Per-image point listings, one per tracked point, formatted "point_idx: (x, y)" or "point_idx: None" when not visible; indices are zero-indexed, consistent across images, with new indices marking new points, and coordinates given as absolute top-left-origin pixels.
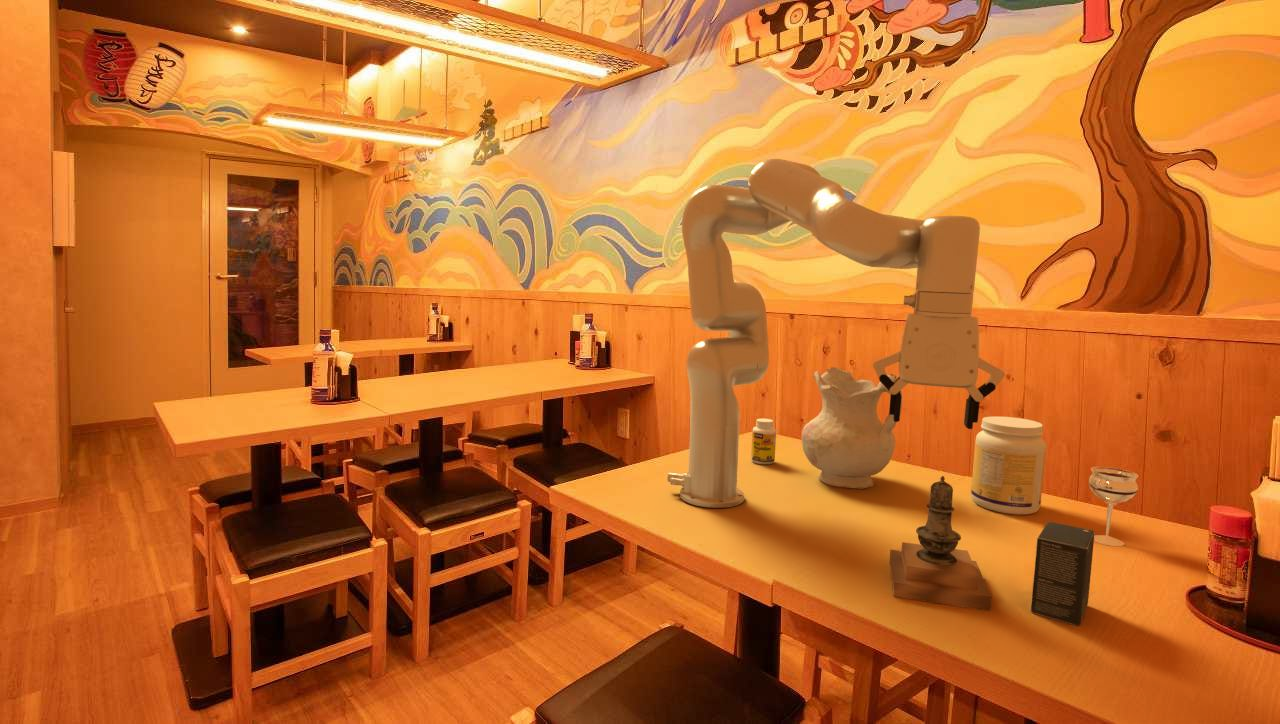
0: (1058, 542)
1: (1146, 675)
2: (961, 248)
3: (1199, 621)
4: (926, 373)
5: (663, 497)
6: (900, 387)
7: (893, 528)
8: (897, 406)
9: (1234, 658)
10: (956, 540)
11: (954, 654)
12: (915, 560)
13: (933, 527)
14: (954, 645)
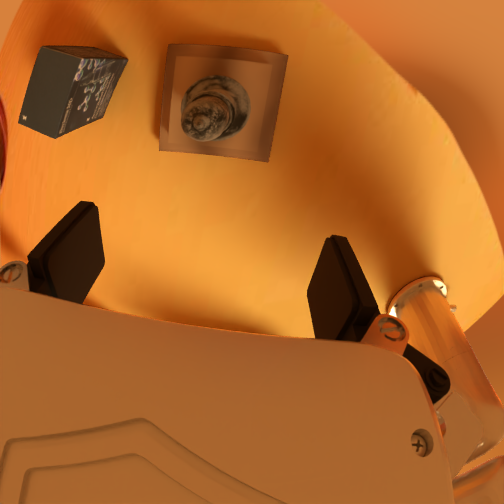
0: (63, 53)
1: None
2: None
3: (7, 114)
4: (264, 411)
5: (455, 291)
6: (371, 343)
7: (237, 264)
8: (355, 270)
9: (10, 55)
10: (192, 84)
11: None
12: (254, 85)
13: (226, 94)
14: None
